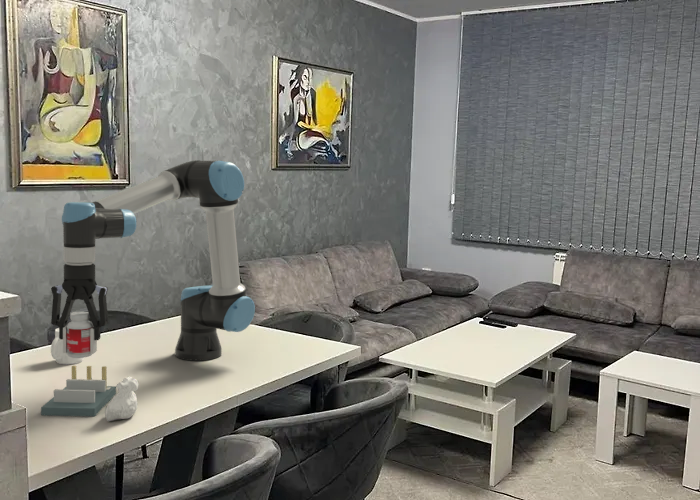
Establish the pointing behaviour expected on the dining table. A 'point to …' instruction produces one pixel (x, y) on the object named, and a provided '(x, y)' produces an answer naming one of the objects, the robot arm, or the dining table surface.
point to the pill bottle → (79, 335)
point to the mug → (61, 351)
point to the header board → (80, 396)
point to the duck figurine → (123, 400)
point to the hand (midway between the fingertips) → (80, 351)
